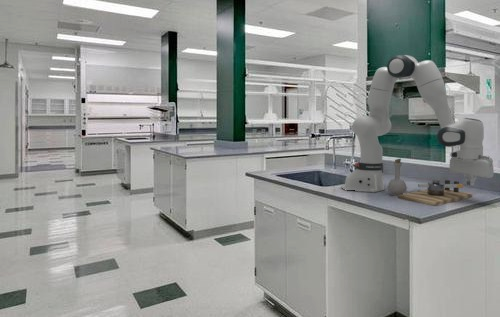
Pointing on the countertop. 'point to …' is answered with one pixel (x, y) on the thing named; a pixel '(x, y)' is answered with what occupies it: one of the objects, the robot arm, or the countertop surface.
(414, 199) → the stand
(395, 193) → the potion bottle
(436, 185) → the capstan
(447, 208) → the countertop surface
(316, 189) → the countertop surface
